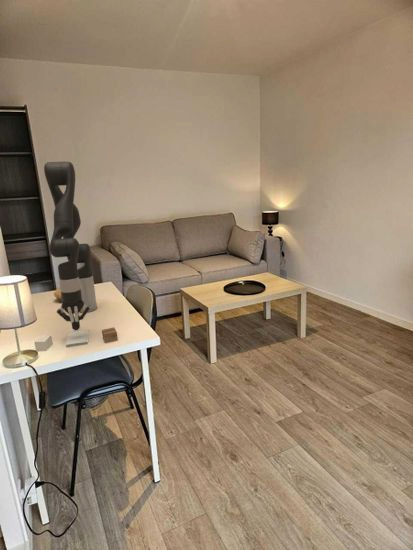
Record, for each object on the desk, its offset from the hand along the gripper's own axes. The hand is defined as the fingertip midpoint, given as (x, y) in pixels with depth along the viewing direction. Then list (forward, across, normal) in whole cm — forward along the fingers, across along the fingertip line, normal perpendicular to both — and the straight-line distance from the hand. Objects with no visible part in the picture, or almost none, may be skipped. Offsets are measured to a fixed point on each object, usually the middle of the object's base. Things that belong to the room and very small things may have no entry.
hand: (76, 329), depth 147 cm
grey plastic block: (+4, +12, +4) cm, 13 cm away
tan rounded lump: (+4, +9, -58) cm, 59 cm away
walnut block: (+4, -13, +4) cm, 14 cm away
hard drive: (+5, 0, 0) cm, 5 cm away
